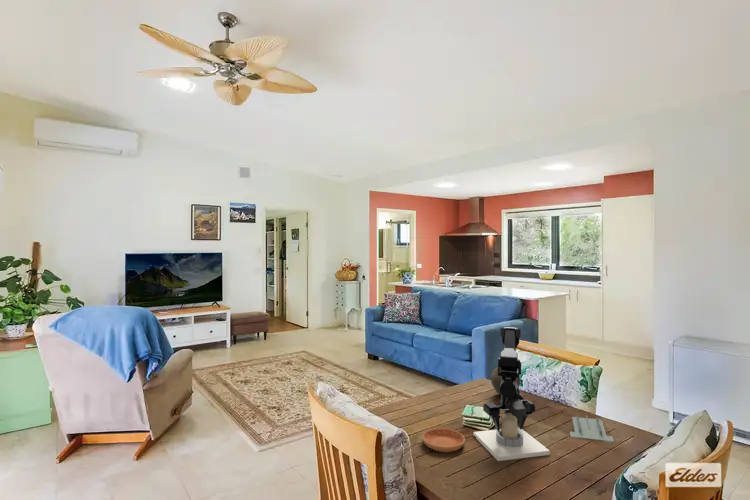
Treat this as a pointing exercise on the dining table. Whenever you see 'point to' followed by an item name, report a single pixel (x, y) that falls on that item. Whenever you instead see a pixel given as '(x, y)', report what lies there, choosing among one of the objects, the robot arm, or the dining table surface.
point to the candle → (509, 426)
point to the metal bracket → (589, 429)
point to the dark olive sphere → (499, 380)
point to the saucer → (443, 440)
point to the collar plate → (511, 451)
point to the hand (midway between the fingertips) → (509, 430)
